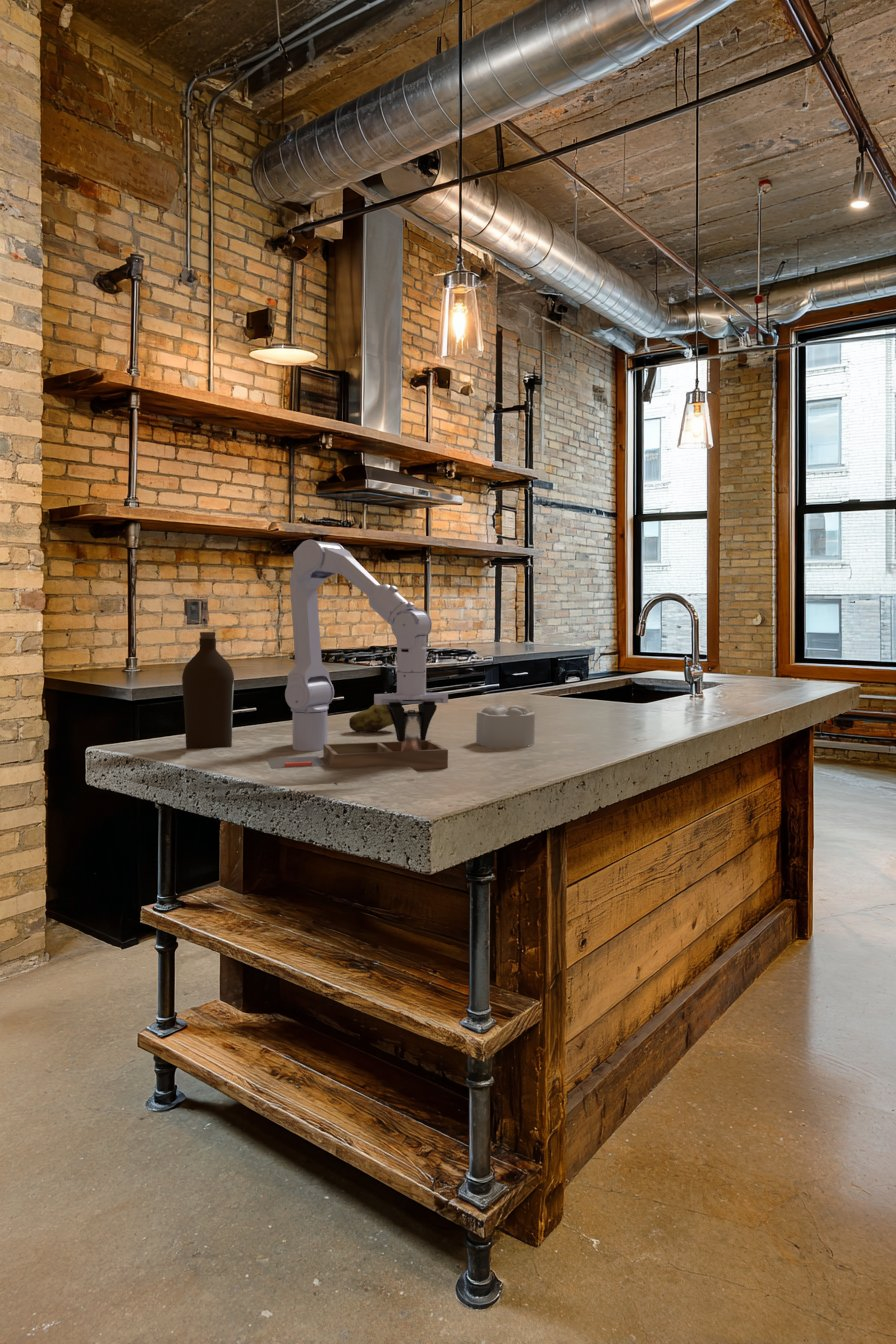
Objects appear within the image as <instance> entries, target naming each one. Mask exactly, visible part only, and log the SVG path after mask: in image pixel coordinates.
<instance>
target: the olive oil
mask: <svg viewBox="0 0 896 1344" xmlns="http://www.w3.org/2000/svg"><path fill="white" fill-rule="evenodd" d="M199 636H200V637H199V650H198V651H197V652H196V654H195V655H194V656H193V657H192V658H191V659H190V660H189V661H188V662H187V663H186V665H185V667H184V668H183V672H182V675H181V681H182V682H181V684H182V696H183V711H184V714H183V715H184V730H185V731H184V733H185V749H186V750H196V749H198V750H199V749H201V750H202V749H220V748H222V749H223V748H228V749H229V748H232V747H233V715H234V714H233V710H234V689H235V688H234V687H235V676H234V675H235V674H234V672H233V669H232V666H231V665H230V663H229V662H228V661H227V660H226V659H225V658H224V657H223V655H221V653H219V652H218V650H217V639H216V631H200V632H199Z"/></svg>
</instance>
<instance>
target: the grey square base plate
mask: <svg viewBox="0 0 896 1344" xmlns="http://www.w3.org/2000/svg"><path fill="white" fill-rule="evenodd" d="M266 760H267V762H268V764H269V766H270V767H271V769H289V768H307V767H309V768H310V767H327V765H326V763H324V761H323V760H322V759H321V758H320V757H319V756H314V755H313V756H293V757H273V758H270V757H269V758H266Z"/></svg>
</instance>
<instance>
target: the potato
mask: <svg viewBox="0 0 896 1344" xmlns="http://www.w3.org/2000/svg"><path fill="white" fill-rule="evenodd" d="M348 724H349V728H350V729H351V730H352V731H354V732H356V733H360V732H362V733H365V732H366V733H370V732H377V731H381V730H383V729H384V728H387V727H390V726H393V725H394V723H393V721H392V718H391V716H390V713H389V711H388V709H387V707H386V704H382V705H375V704H374V703H373V705H371V706H370V707H369V708H368V709H364V710H361V711H360V712H357V713H355V714H353V715H352V716H350V718H349V723H348Z"/></svg>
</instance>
